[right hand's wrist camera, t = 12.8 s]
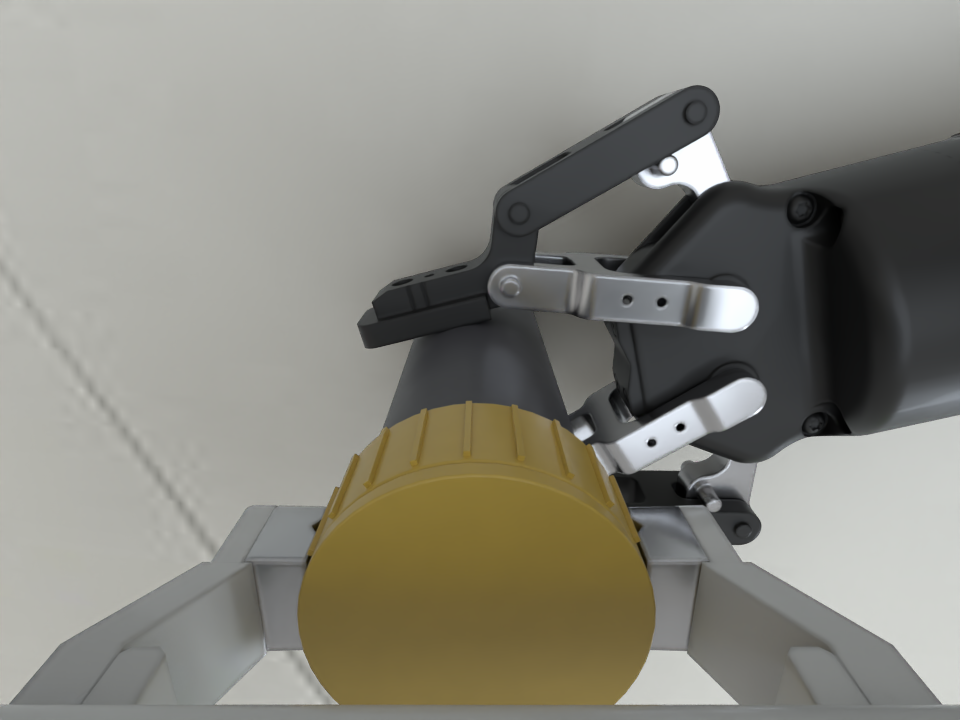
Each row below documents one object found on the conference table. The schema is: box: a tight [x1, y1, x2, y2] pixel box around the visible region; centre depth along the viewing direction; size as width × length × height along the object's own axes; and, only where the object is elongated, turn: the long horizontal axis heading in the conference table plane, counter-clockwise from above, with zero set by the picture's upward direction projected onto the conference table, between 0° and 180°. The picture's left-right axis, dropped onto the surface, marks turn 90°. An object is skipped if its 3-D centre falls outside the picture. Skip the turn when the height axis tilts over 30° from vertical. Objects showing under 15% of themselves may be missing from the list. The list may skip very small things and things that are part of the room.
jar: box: [383, 307, 574, 435], centre depth 16 cm, size 5×5×15 cm
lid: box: [297, 401, 656, 705], centre depth 10 cm, size 6×6×2 cm
